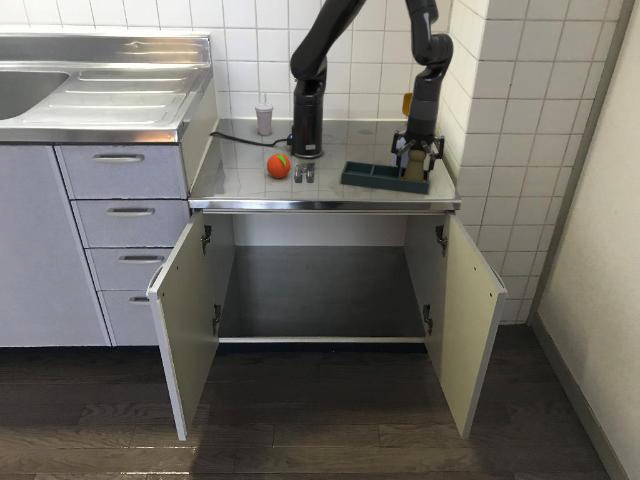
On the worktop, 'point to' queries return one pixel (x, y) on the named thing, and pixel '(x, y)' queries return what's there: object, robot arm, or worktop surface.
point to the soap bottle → (400, 142)
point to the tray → (382, 177)
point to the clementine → (278, 165)
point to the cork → (415, 165)
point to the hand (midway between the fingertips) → (414, 169)
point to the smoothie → (264, 117)
